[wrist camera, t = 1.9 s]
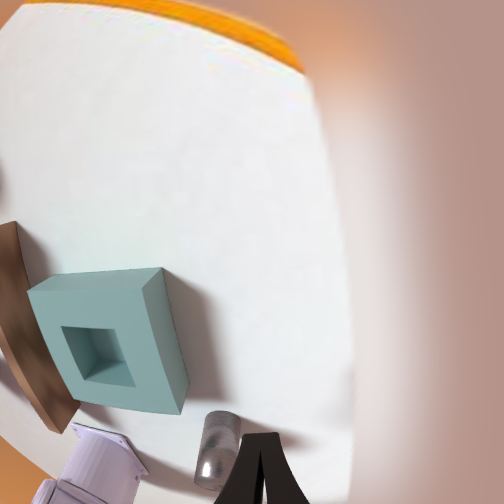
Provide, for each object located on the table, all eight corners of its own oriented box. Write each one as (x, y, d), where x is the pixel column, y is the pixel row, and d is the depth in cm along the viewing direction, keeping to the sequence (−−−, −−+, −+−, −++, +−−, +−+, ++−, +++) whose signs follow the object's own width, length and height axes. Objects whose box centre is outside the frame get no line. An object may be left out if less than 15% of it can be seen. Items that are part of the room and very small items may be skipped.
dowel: (242, 430, 22) (239, 491, 15) (208, 430, 22) (199, 489, 15) (238, 410, 21) (233, 476, 14) (202, 410, 21) (189, 473, 14)
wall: (80, 404, 22) (61, 434, 17) (68, 401, 22) (48, 429, 17) (15, 220, 17) (-25, 233, 12) (4, 223, 17) (-35, 236, 12)
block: (190, 380, 20) (180, 415, 16) (92, 372, 21) (73, 398, 17) (163, 265, 18) (141, 288, 14) (56, 273, 18) (26, 291, 14)
